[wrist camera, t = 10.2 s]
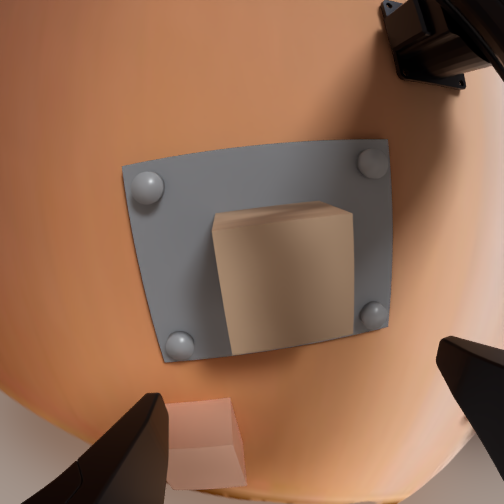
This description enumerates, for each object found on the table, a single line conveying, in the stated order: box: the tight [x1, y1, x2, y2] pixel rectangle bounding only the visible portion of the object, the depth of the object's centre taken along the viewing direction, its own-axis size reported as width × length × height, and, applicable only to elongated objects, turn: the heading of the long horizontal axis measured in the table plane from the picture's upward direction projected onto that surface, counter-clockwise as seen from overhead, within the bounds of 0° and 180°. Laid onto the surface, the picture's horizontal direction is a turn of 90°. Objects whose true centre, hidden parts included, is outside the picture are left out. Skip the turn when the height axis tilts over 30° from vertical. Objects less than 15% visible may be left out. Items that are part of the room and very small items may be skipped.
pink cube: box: [165, 398, 247, 490], centre depth 20 cm, size 6×6×5 cm
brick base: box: [212, 201, 354, 355], centre depth 16 cm, size 6×6×5 cm
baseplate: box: [122, 139, 393, 362], centre depth 18 cm, size 16×13×1 cm
